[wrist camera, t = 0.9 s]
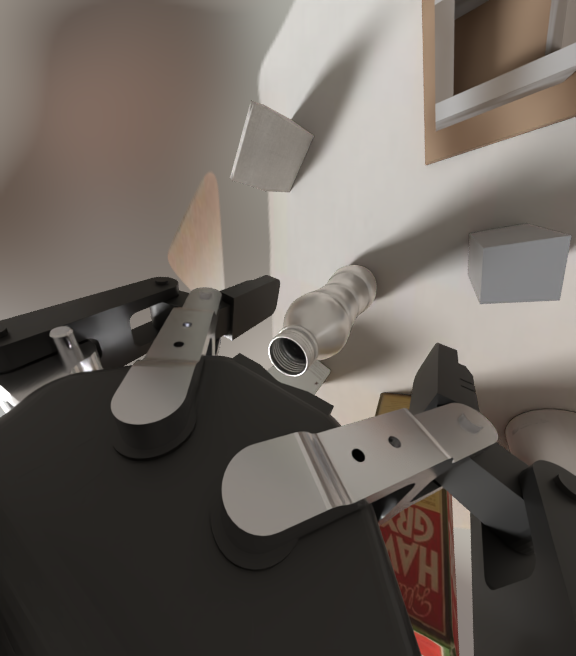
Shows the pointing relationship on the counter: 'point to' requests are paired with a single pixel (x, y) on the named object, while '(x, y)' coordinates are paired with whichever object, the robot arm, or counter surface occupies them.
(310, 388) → the skincare box
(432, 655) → the food packaging
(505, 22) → the socket board
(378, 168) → the counter surface
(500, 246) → the plug
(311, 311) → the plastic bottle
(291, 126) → the small milk carton
